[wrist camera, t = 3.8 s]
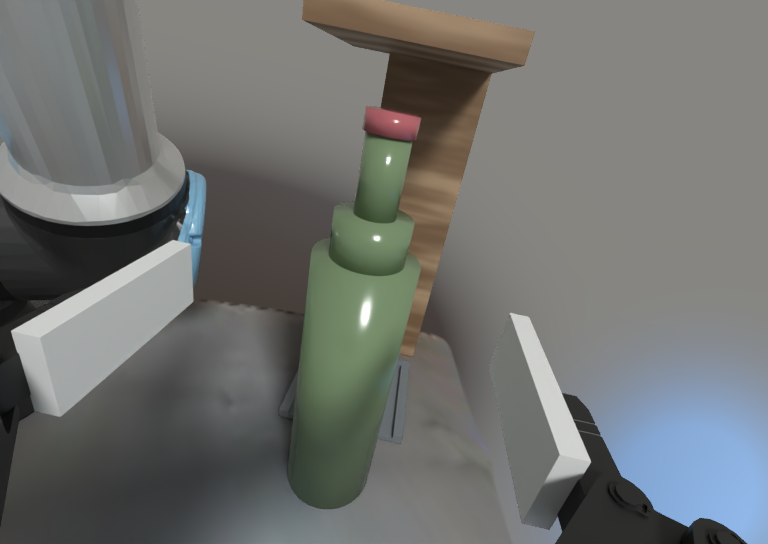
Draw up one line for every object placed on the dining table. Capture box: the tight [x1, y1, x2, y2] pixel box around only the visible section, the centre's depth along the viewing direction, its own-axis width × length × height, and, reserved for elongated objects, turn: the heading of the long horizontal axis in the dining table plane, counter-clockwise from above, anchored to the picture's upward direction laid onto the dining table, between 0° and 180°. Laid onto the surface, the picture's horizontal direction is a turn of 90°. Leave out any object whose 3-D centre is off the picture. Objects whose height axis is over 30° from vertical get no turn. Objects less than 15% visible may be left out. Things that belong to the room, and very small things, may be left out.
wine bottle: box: [287, 106, 421, 509], centre depth 29 cm, size 7×7×31 cm
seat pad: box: [279, 359, 410, 444], centre depth 45 cm, size 12×13×1 cm
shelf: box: [302, 0, 535, 357], centre depth 39 cm, size 17×14×37 cm
